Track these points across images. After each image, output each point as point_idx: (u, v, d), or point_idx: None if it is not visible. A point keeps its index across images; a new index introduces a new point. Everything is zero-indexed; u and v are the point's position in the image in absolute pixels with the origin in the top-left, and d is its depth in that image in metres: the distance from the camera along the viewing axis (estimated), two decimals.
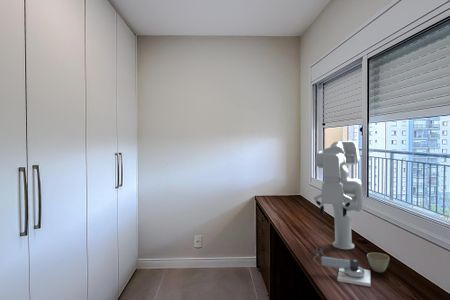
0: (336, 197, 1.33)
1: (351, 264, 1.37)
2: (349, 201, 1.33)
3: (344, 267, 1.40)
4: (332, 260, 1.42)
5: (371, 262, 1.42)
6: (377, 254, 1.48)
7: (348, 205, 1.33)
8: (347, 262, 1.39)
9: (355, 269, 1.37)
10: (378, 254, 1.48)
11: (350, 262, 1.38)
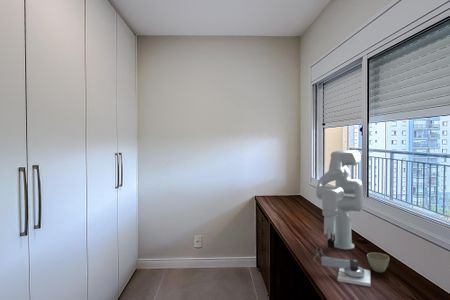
0: (335, 226, 1.49)
1: (351, 264, 1.37)
2: None
3: (344, 267, 1.40)
4: (332, 260, 1.42)
5: (371, 262, 1.42)
6: (377, 254, 1.48)
7: None
8: (347, 262, 1.39)
9: (355, 269, 1.37)
10: (378, 254, 1.48)
11: (350, 262, 1.38)
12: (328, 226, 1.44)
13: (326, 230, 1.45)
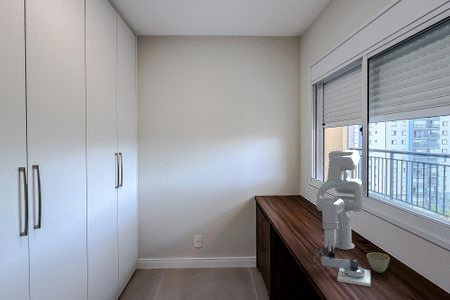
0: None
1: (351, 264, 1.37)
2: None
3: (344, 267, 1.40)
4: (332, 260, 1.42)
5: (371, 262, 1.42)
6: (377, 254, 1.48)
7: None
8: (347, 262, 1.39)
9: (355, 269, 1.37)
10: (378, 254, 1.48)
11: (350, 262, 1.38)
12: (329, 239, 1.44)
13: (327, 243, 1.45)
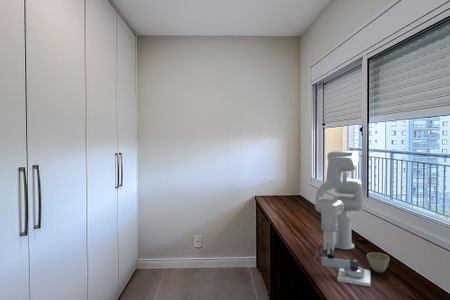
0: None
1: (351, 264, 1.37)
2: None
3: (344, 267, 1.39)
4: (332, 260, 1.42)
5: (371, 262, 1.42)
6: (377, 254, 1.48)
7: None
8: (347, 262, 1.39)
9: (355, 269, 1.37)
10: (378, 254, 1.48)
11: (350, 262, 1.38)
12: (327, 241, 1.41)
13: (325, 245, 1.42)
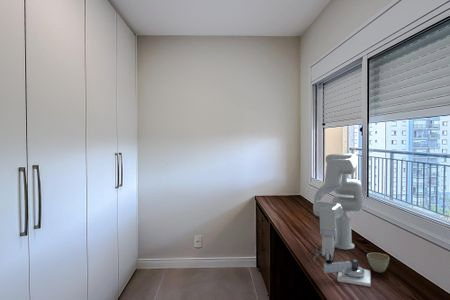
0: None
1: (353, 265, 1.37)
2: None
3: (346, 269, 1.37)
4: (335, 265, 1.37)
5: (371, 262, 1.42)
6: (377, 254, 1.48)
7: None
8: (348, 263, 1.37)
9: (357, 269, 1.37)
10: (378, 254, 1.48)
11: (352, 263, 1.37)
12: (326, 247, 1.36)
13: (324, 251, 1.36)
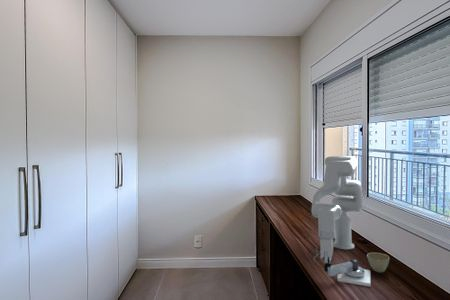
0: None
1: (354, 265, 1.37)
2: None
3: (348, 270, 1.36)
4: (339, 267, 1.34)
5: (371, 262, 1.42)
6: (377, 254, 1.48)
7: None
8: (350, 264, 1.37)
9: (357, 268, 1.37)
10: (378, 254, 1.48)
11: (353, 263, 1.37)
12: (325, 249, 1.32)
13: (323, 254, 1.33)
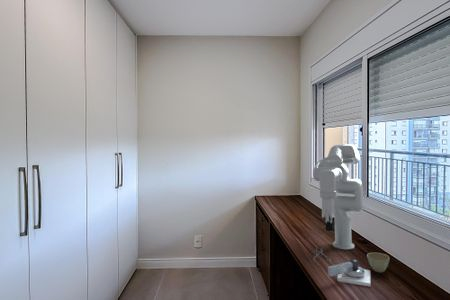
0: None
1: (354, 265, 1.37)
2: None
3: (348, 270, 1.36)
4: (339, 267, 1.34)
5: (371, 262, 1.42)
6: (377, 254, 1.48)
7: None
8: (350, 264, 1.36)
9: (357, 268, 1.37)
10: (378, 254, 1.48)
11: (353, 263, 1.37)
12: (326, 208, 1.37)
13: (324, 213, 1.38)
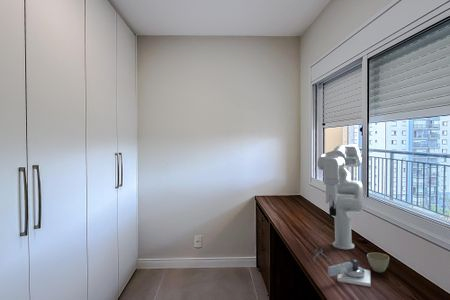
0: None
1: (354, 265, 1.37)
2: None
3: (348, 270, 1.36)
4: (339, 267, 1.34)
5: (371, 262, 1.42)
6: (377, 254, 1.48)
7: (334, 204, 1.53)
8: (350, 264, 1.36)
9: (357, 268, 1.37)
10: (378, 254, 1.48)
11: (353, 263, 1.37)
12: (330, 194, 1.46)
13: (328, 198, 1.47)
